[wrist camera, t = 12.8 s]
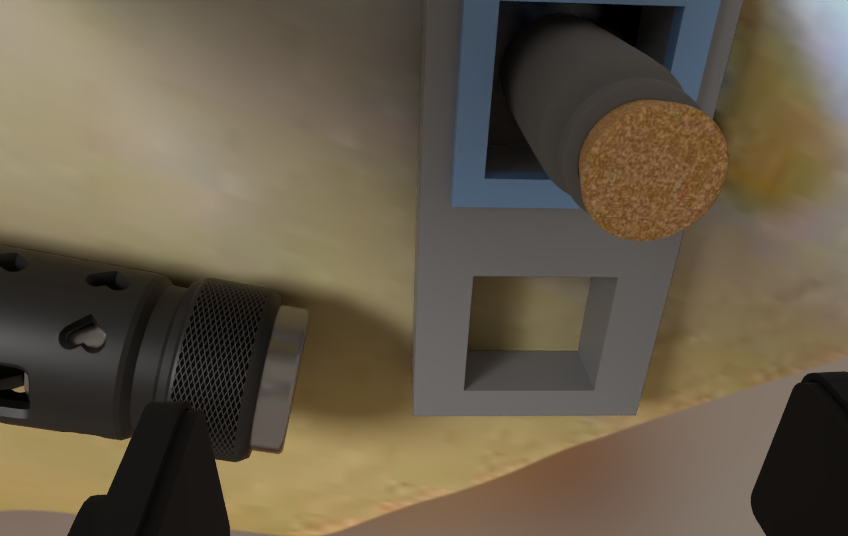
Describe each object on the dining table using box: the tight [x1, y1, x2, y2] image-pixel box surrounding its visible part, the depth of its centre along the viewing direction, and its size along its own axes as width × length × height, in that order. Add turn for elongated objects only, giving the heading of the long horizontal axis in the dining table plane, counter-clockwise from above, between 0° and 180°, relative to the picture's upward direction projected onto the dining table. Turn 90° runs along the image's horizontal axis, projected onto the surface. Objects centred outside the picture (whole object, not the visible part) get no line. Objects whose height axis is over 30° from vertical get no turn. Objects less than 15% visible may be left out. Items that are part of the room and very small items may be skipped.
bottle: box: [500, 13, 728, 241], centre depth 27 cm, size 6×6×15 cm
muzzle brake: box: [0, 245, 310, 462], centre depth 34 cm, size 10×28×10 cm, turn 76°
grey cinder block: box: [412, 0, 743, 416], centre depth 35 cm, size 26×14×5 cm, turn 178°
